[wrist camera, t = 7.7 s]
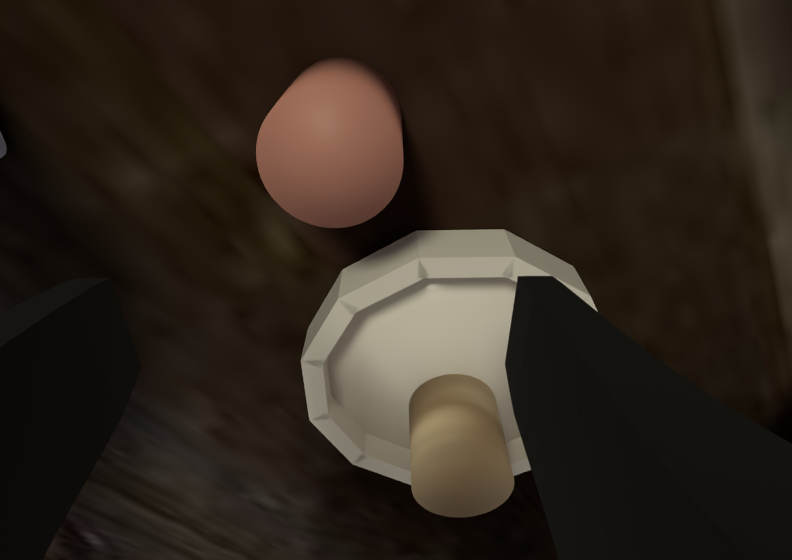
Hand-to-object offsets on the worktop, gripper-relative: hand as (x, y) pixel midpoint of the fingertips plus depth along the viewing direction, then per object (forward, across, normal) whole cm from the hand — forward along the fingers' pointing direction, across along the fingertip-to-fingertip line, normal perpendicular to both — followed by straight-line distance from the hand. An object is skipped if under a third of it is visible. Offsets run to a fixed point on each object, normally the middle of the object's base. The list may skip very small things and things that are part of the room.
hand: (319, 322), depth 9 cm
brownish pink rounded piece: (+9, 0, -1) cm, 9 cm away
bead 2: (+8, -4, +11) cm, 14 cm away
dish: (+9, -4, +9) cm, 13 cm away
